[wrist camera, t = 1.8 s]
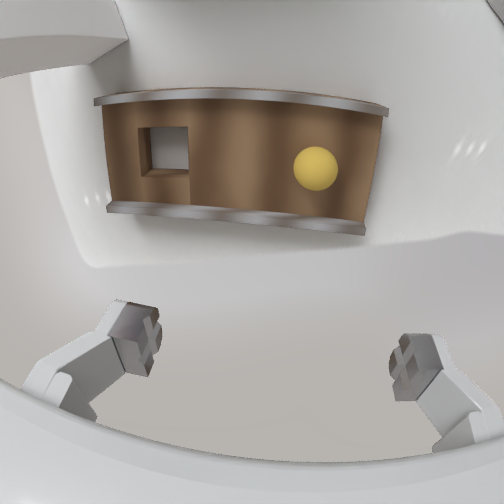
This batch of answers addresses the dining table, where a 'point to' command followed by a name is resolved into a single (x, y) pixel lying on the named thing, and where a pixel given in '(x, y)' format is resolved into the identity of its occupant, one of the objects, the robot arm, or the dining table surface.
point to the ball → (315, 168)
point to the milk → (56, 33)
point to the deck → (242, 155)
